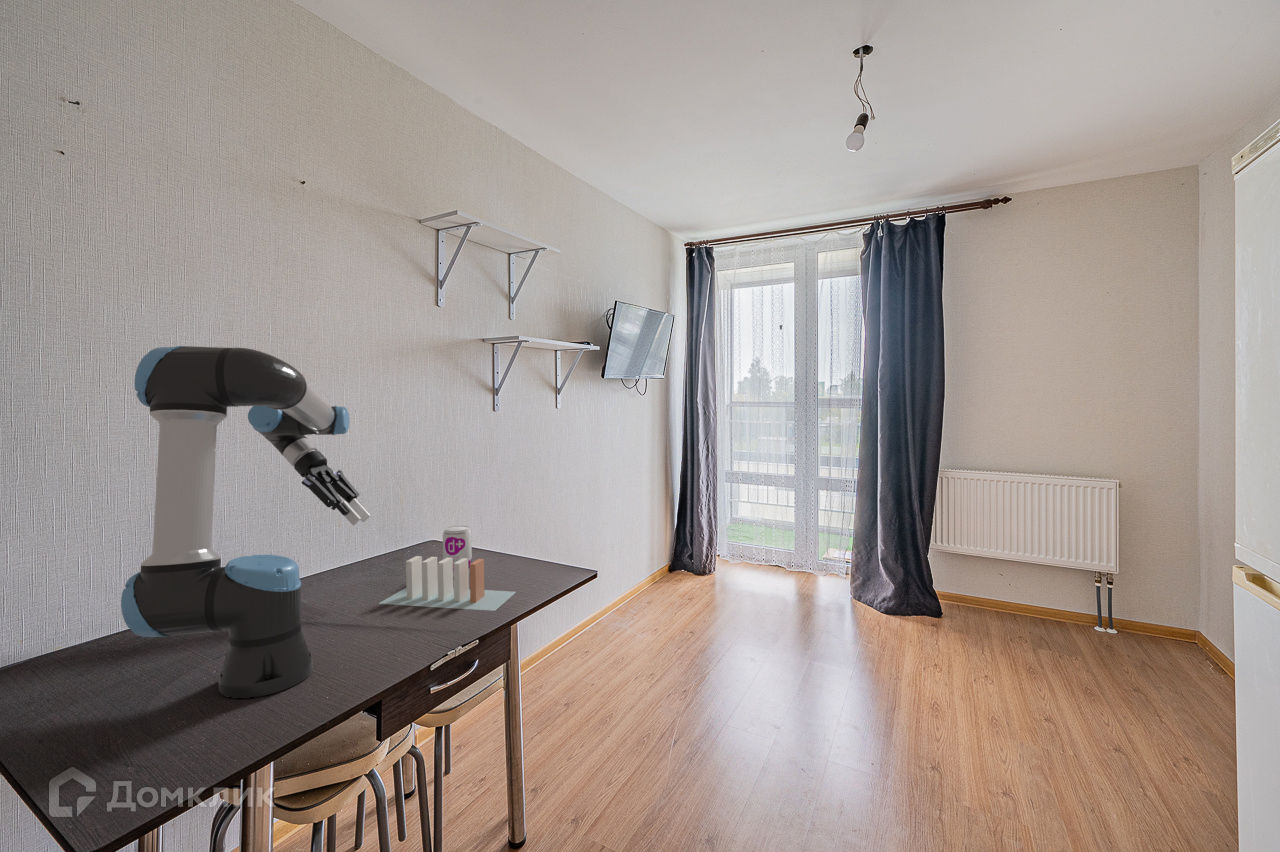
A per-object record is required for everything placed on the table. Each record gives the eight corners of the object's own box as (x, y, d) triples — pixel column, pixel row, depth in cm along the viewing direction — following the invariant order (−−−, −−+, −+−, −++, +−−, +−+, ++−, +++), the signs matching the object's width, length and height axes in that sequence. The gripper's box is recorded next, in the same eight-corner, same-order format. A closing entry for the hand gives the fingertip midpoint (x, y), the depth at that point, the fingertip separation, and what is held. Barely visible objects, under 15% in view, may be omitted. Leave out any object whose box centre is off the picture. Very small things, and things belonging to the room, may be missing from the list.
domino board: (495, 615, 139) (494, 610, 139) (378, 608, 145) (378, 603, 145) (516, 596, 153) (516, 591, 153) (409, 590, 159) (409, 585, 159)
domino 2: (437, 593, 152) (437, 557, 152) (428, 599, 147) (427, 562, 147) (432, 593, 152) (431, 556, 152) (422, 599, 148) (421, 562, 147)
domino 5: (484, 596, 150) (483, 559, 150) (476, 602, 145) (475, 564, 145) (478, 595, 150) (478, 558, 150) (470, 602, 145) (469, 564, 145)
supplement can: (467, 581, 166) (466, 531, 165) (439, 581, 166) (438, 531, 165) (475, 573, 174) (474, 525, 173) (449, 573, 174) (448, 525, 174)
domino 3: (453, 594, 151) (452, 557, 151) (443, 600, 147) (443, 563, 146) (447, 593, 152) (447, 557, 151) (438, 600, 147) (437, 562, 146)
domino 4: (468, 595, 151) (468, 558, 150) (459, 601, 146) (459, 563, 145) (463, 594, 151) (462, 558, 151) (454, 601, 146) (453, 563, 146)
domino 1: (422, 592, 153) (421, 556, 153) (412, 598, 148) (411, 561, 148) (417, 592, 153) (416, 556, 153) (406, 598, 148) (405, 561, 148)
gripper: (319, 464, 163) (372, 523, 161) (273, 472, 147) (332, 536, 145) (335, 446, 162) (389, 505, 160) (291, 452, 146) (350, 517, 144)
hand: (361, 520), depth 152 cm, fingers open, 3 cm apart
